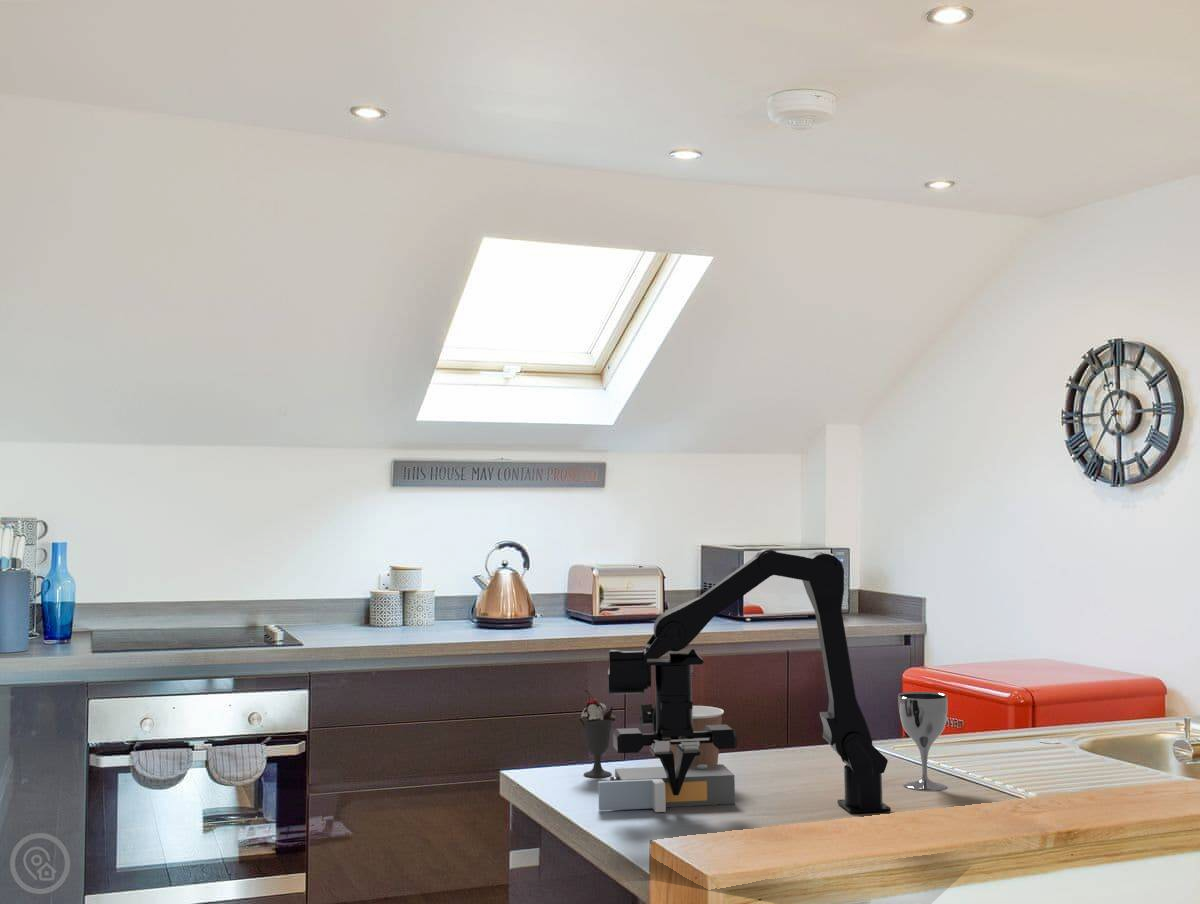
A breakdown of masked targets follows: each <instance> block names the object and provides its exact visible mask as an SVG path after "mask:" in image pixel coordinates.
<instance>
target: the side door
mask: <svg viewBox="0 0 1200 904" xmlns="http://www.w3.org/2000/svg"><path fill="white" fill-rule="evenodd" d="M597 784H598V789H597V790H598V811H599V812H600V811H621V810H622V811H624V810H642V809H643V810H644V809H645V810H646V809H652V810H653V811H654V812H655V813H663V812H664V813H666V809H667V807H666V801H665V782H664V781H663V780H662V779H643V780H619V781H610V780H602V781H601V780H599V781H597Z"/></svg>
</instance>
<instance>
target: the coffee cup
mask: <svg viewBox="0 0 1200 904" xmlns="http://www.w3.org/2000/svg"><path fill="white" fill-rule="evenodd" d="M724 712H725V711H724V709H722V708H719V707H714V706H708V705H706V706H705V705H693V709H692V720H693V731H705V726H706V725H722V720H723V717H722V715H723V714H724ZM699 744H700V746H698V748H699V750H700V751H701V755H699V756H695V757H694V759H693V761H692V763H691V765H699V764H705V765H716V764H719V762H718V761H719V754H720V753H719V751H720V749H718V748H717V747H716V746H714V745H713V744H712V743H699ZM676 745H679V744H675V745H670V750H671V751H672V752H673V754H674V764H675V766H676ZM691 765H690V766H691Z"/></svg>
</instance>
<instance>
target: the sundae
mask: <svg viewBox="0 0 1200 904" xmlns="http://www.w3.org/2000/svg"><path fill="white" fill-rule="evenodd" d="M583 691H584V692H585V693H586V694H587V695H588V701H587V700H586V702H585V706H586V707H585V708H584V709H583V710H582V712H581V714H580V717H578V720H579V721H580V722H581V724H582V729H583V738H584V743H585V747H586V749H587V750H588V752H590V753H591V754H592V755H593V767H592V769H591V770H589V771H586V772H584V773H583V776H584V777H585V778H590V779H603V778H609V777H612V773H611V772H610V771H608V770H607V771H606V770H605V769H603V767H602V762H601V760H602V759H601V758H602V755H603V754H604V753H605V752H607V750H608V748H609V745H610V739H611V729H612V723H613V722H614V721H616V715H614V714H612V712H613V710H614V707H613V706H611V707H609V709H607V705H605V704H604V703H603V702H601V701H599V700H597V699H596V698H594V697H593V695H592V694H591V692H590V691H589V690H588V688H587V689H584V690H583ZM591 698H592V699H591Z"/></svg>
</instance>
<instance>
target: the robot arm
mask: <svg viewBox="0 0 1200 904" xmlns="http://www.w3.org/2000/svg"><path fill="white" fill-rule="evenodd" d="M773 576H778V577H784V578H789V579H795V580H799V581H802V583H803V587H804V589H805V591H806V594H807V597H808V599H809V601H810V603H811V606H812V608H813V610H814V614H815V619H816V620H815V621H816V626H817V633H818V638H819V644H820V651H821V656H822V663H823V668H824V673H825V681H826V685H827V692H828V699H829V700H828V708H827V709H828V710H827V711H820V712H819V717H820V719H821V720H820V721H821V723H822V729H823V732H822V738H823V739H825V741H826V742H828V745H829V746H830V747H831V748H832V750H833V751H835V752H836V754H837V755H838V756H840V758H841V759H840V760H841V761H842V763H844V764H845V765H844V766H843V773H844V775H843V776H844V777H843V778H844V782H843V783H844V799H837V804H838V805H840V806H841V807H842V808H844V809H845V810H847V812H849V813H851V814H852V813H853V814H856V813H857V814H858V813H873V812H874V813H878V812H879V813H880V812H891V810H892V809H891V808H892V807H890V806H889V805H887V804H886V803H884V801H883V774H884V773H885V771H886V767H887V765H888V762H889V761H888V759H887V758H886V757H885V756H884V755H883V754H882V753H881V752H880V750H878V748H876V747H875V746H874V745H873V738H872V735H871V733H870V729H869V727H868V724H867V720H866V718H865V716H864V713H863V711H862V709H861V707H860V705H859V703H858V700H857V696H856V689H855V685H854V679H853V671H852V667H851V665H852V664H851V660H850V654H849V647H848V640H847V635H846V630H845V624H844V616H843V612H842V611H843V610H842V609H843V601H844V594H845V593H844V592H845V569H844V566H843V563H842V561H841V560H840V559H839V558H837V557H836V556H835V555H832V554H829V553H825V552H812V553H810V554H809V555H807V556H803V555H802V556H801V555H798V554H797V555H795V554H791V553H790V554H789V553H783V552H779V551H776V550H773V549H769V548H766V549H761V550H760V551H758V552H757V553H756V554H755V555H754V556H753V557H752V558H751V559H749V560H748V561H747V562H745V563H744V564H743V565H742V564H741V566H740V567H738V568H736V570H734V571H733V572H730V573H729V574H728V575H727V576H726V577H724V578H723V579H721V580H720V581H718V582H717V583H715V585H713V586H712V587H711V588H709V589H707V590H706V591H705V592H704V593H702V594H701V595H699V596H698V597H696V598H695V597H694V599H691V600H688V601H686V602H684V603H681V604H680V605H677V606H675V607H673V608H670V609H669V610H666V611H664V612H662V613H661V614H659V616H657V618H656V619H655V620H654V623H653V629H652V631H653V634H652V636H651V637H650V638H649V640H648V641H647V642H646V643H644V647H642V650H620V649H610V650H609V652H608V665H609V667H608V669H607V676H608V677H607V686H608V687H607V689H608V690H607V691H608V695H640V694H641V695H643V694H645V690H648V688H652V670H651V669H652V666H654V685H655V686H654V688H655V691H654V692H655V693H654V694H655V698H654V706H653V704H652V703H643V704H642V703H641V704H640V705H639V725H640V726H643V727H644V726H651V731H652V732H651V733H650V732H649V733H642V732H641V730H640V729H639V728H638V727H629V728H615V730H614V731H613V733H612V746H613V749H615V751H616V753H618V754H638V753H640V752H641V750H642V749H643V748H644V747H645V746H646V747H648V746H649V747H648V748H649V752H650V753H651V754H652V756H653V757H654V758H659V761H660V762H661V764H662V767H664V770H665V772H666V776H667V779H668V782H669V785H670V788H671V791H672V794H673V795H679V793H680V790H681V787H682V785H683V782H684V779H685V776H686V774H687V771H688V769H689V767H690V765H691V763H692V761H693V759H694V757H695V756H699V755H701V751H700V750H699V748H698V746H700V744H699V743H712V744H713V745H714V746H716V747H717V748H718V749H719V750H727V749H728V750H730V749H737V748H738V736H737V732H736V731H735V730H734V729H733V728H732V727H730V725H728V724H721V725H706V726H705V731H693V720H692V709H693V706H694V705H693V704H694V703H693V688H692V687H693V685H692V684H693V683H692V681H693V680H692V679H693V678H692V677H693V676H692V674H693V673H692V666H693V665H696V666H697V665H698V666H699V665H703V664H704V659H703V658H702V657H701V656H700V655H698V654H697V652H696V650H695V649H694V647H691V648H689V650H687V652H679V651H681V650H684V649H686V647H688V645H690V643H691V642H693V640H694V639H695V638H696V637H698V635H699V634H700V633H701V632H702V631H703V629H704V628H705V627H706V626H707V625H708V623H710V621H711V620H712V619H713V618H714V617H716V616H717V615H718V614H720V613H721V612H722V611H725V610H726V609H727V608H728V607H730V606H731V605H733V604H734V603H736V602H737V601H738V600H739V599H741V598H742V597H744V596H746V594H748V593H749V592H751V591H752V590H753V589H755V588H756V587H757V586H759V585H760V584H762V583H763V582H764V581H766V580H767V579H769V578H770V577H773ZM670 651H671V652H670ZM668 652H670V653H668ZM667 653H668V658H661V657H663V656H665V654H667ZM675 744H679V745H676V771H675V764H674V754H673V752H672V751H671V750H670V745H675Z"/></svg>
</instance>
